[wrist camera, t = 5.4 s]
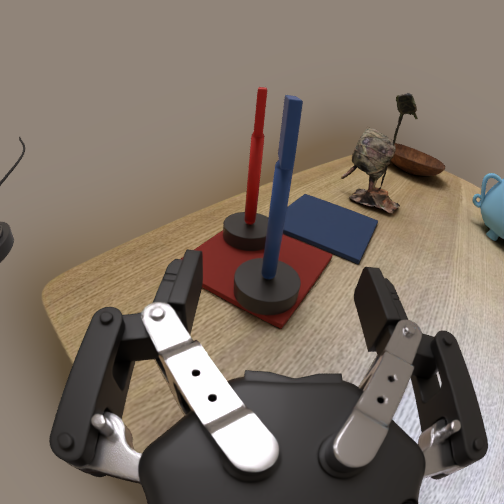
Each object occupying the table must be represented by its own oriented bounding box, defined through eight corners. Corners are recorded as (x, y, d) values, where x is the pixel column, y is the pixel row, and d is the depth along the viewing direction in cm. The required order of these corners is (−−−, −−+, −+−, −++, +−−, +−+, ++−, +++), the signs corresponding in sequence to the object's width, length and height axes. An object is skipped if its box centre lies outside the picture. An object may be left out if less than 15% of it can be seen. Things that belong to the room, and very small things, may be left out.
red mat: (171, 270, 27) (170, 265, 27) (240, 222, 36) (241, 217, 35) (281, 329, 22) (282, 324, 22) (331, 258, 31) (332, 254, 31)
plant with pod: (355, 184, 52) (375, 84, 40) (404, 210, 45) (433, 101, 33) (329, 190, 47) (350, 76, 36) (385, 220, 40) (417, 93, 29)
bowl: (366, 162, 67) (370, 144, 65) (389, 154, 81) (393, 140, 78) (435, 192, 57) (441, 173, 54) (444, 177, 71) (448, 163, 68)
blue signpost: (230, 312, 23) (245, 95, 13) (236, 268, 27) (250, 90, 18) (299, 317, 23) (348, 110, 14) (294, 274, 27) (327, 100, 18)
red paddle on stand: (220, 248, 30) (227, 86, 20) (226, 221, 34) (234, 84, 25) (274, 253, 30) (297, 93, 21) (273, 226, 34) (291, 90, 25)
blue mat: (265, 227, 35) (266, 222, 35) (304, 197, 44) (304, 193, 43) (358, 264, 30) (359, 260, 30) (377, 224, 39) (378, 220, 39)
